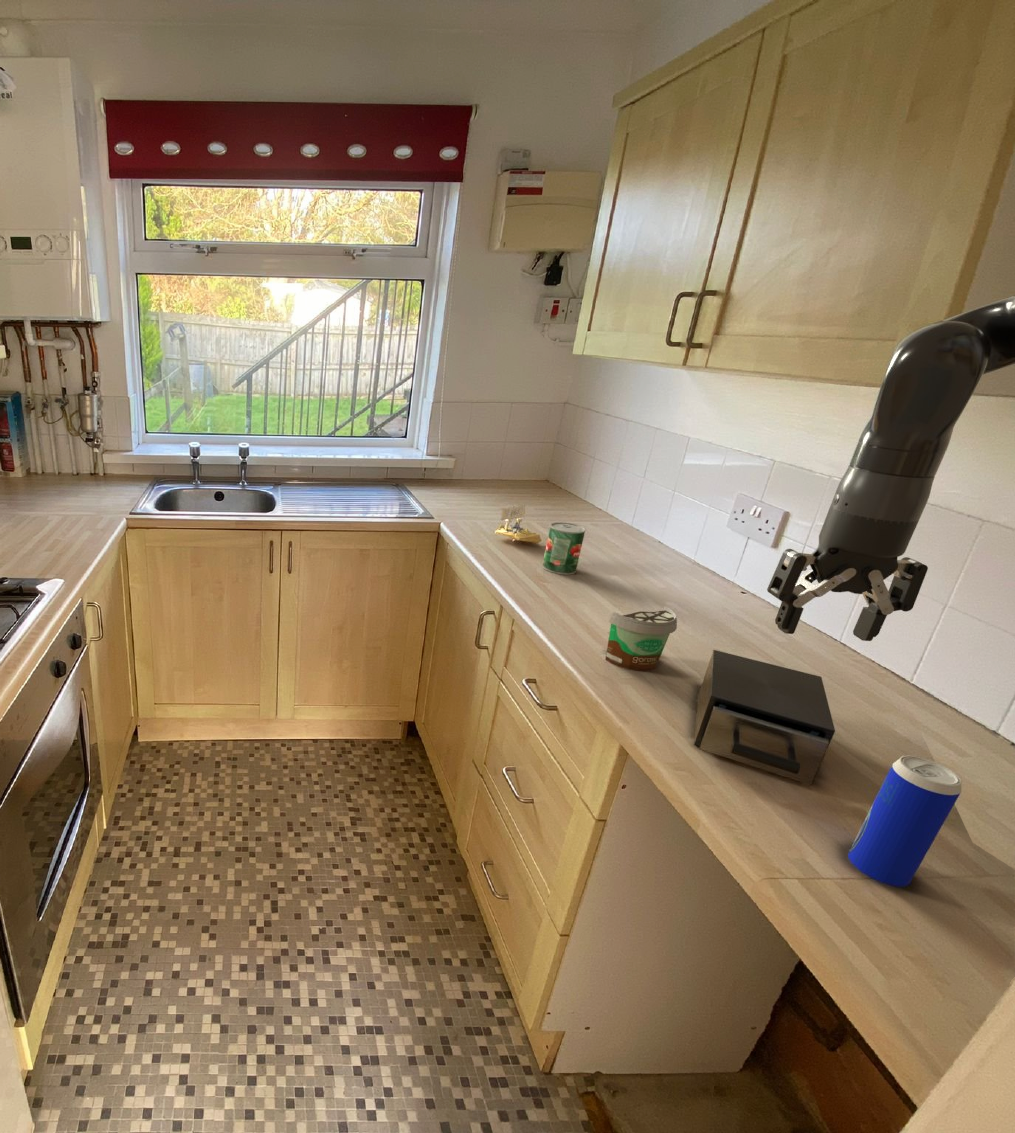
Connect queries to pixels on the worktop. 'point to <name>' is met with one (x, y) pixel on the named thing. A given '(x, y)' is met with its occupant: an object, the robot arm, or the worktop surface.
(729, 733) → the drawer
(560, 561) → the canned tomato
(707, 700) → the cabinet
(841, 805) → the worktop surface
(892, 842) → the beverage can
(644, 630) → the food container
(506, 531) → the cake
